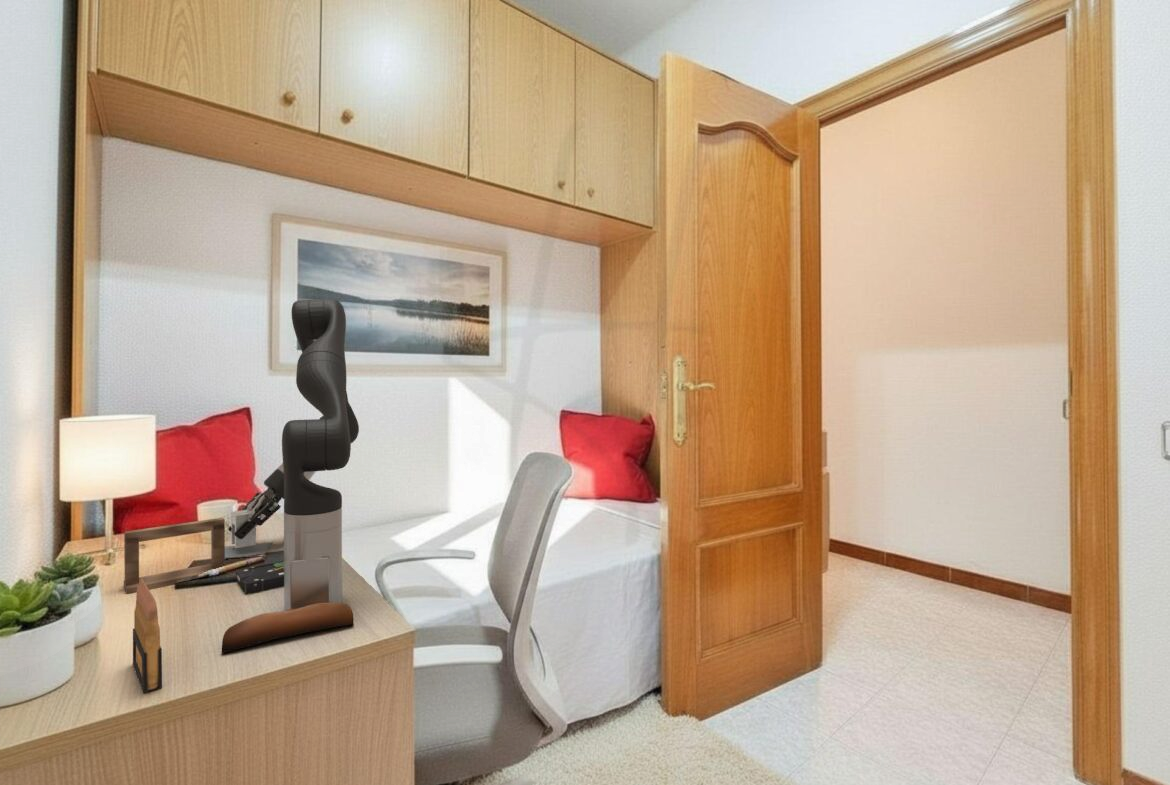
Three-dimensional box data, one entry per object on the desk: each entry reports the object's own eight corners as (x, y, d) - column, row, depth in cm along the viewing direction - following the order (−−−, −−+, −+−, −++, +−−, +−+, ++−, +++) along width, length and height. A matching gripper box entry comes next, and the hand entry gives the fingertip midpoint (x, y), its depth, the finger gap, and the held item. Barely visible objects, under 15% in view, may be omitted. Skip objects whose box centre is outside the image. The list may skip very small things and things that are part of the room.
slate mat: (262, 556, 123) (262, 554, 123) (211, 561, 120) (211, 558, 120) (272, 544, 132) (272, 542, 132) (225, 548, 129) (225, 546, 129)
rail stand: (220, 566, 116) (220, 516, 116) (226, 573, 112) (226, 520, 112) (123, 585, 105) (123, 529, 105) (126, 593, 101) (126, 535, 100)
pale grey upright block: (250, 540, 129) (250, 509, 129) (256, 544, 126) (255, 512, 126) (230, 543, 127) (230, 511, 126) (236, 548, 123) (236, 515, 123)
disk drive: (245, 598, 100) (329, 578, 110) (245, 584, 100) (329, 565, 110) (235, 583, 108) (314, 566, 118) (234, 569, 108) (314, 553, 118)
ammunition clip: (162, 688, 69) (161, 596, 69) (143, 694, 68) (143, 600, 68) (149, 659, 77) (149, 575, 76) (132, 664, 75) (132, 579, 75)
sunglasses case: (346, 608, 94) (349, 581, 91) (352, 642, 89) (355, 615, 86) (223, 632, 85) (222, 604, 82) (221, 672, 79) (220, 643, 77)
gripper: (270, 464, 136) (214, 519, 128) (287, 471, 126) (227, 531, 118) (293, 482, 140) (240, 537, 132) (311, 490, 130) (255, 550, 122)
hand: (234, 534), depth 125 cm, fingers closed on pale grey upright block, 5 cm apart
